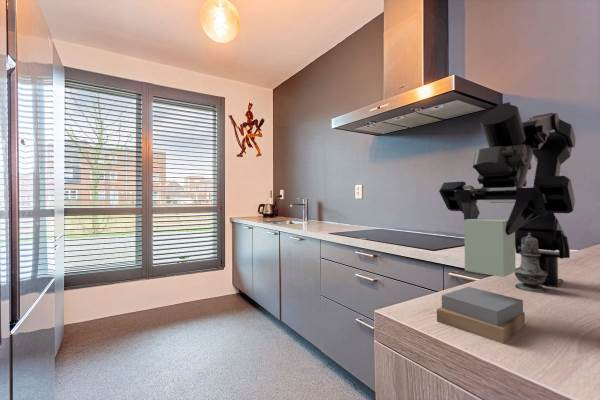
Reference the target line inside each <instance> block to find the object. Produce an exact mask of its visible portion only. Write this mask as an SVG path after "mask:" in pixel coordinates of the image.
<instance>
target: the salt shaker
mask: <svg viewBox="0 0 600 400" xmlns="http://www.w3.org/2000/svg"><path fill="white" fill-rule="evenodd" d="M538 250H539V249H538V240H537V239H536V238H534V237H532V236H531V233H530V232H529V233H528V236H527V237H524V238H522V240H521V252H520V253H519V255H520V260H521V261H520V265H519V267H515V271H516V272H514V276H515V278H516V279H517V280H518V281H519V283H516V284H515V286H514V287H515V288H516V289H519V290H522V291H527V292H532V293H545V292H547V288H545V287H544V286H543V284H542V283H543V282H545V280H546V276H547V275H548V273H547V272H545V271H543V270H541V269H540V266H539V256H540V255H541V254H539V253H538Z"/></svg>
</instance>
